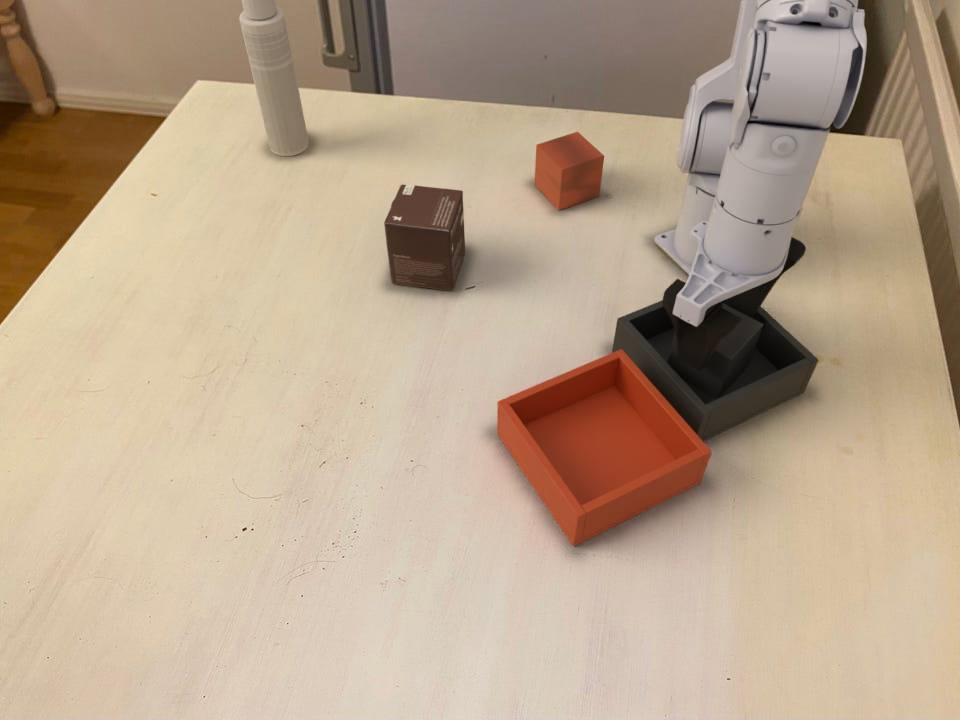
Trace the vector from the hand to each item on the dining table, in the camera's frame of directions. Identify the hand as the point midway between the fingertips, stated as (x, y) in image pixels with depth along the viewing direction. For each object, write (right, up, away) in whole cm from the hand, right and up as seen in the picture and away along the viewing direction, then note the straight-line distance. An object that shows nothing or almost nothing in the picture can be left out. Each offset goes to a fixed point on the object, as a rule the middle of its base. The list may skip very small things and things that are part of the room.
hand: (716, 335), depth 65 cm
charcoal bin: (0, -3, +3) cm, 4 cm away
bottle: (-41, +22, +26) cm, 53 cm away
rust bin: (-10, -10, -2) cm, 14 cm away
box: (-24, +7, +12) cm, 28 cm away
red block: (-10, +16, +20) cm, 28 cm away
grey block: (0, -3, +3) cm, 4 cm away
